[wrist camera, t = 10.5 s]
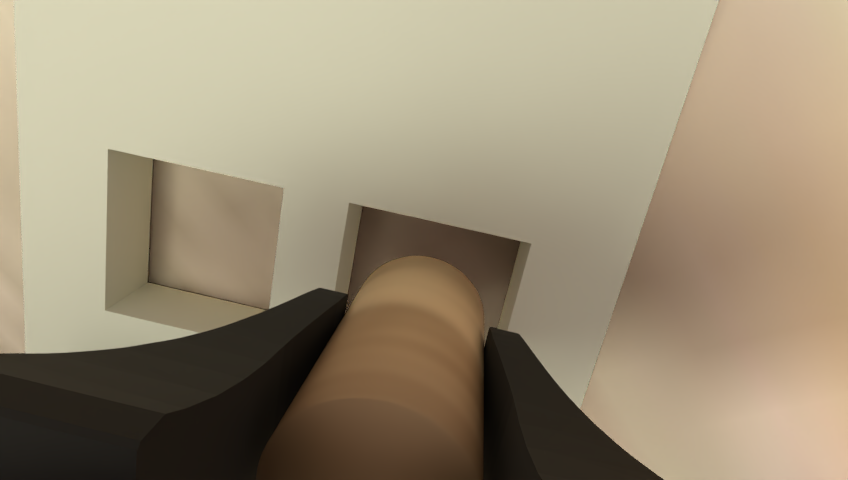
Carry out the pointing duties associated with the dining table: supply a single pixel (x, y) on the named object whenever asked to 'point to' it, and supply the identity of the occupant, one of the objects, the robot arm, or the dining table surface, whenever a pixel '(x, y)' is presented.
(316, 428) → the pin
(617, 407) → the dining table surface
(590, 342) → the pin board
